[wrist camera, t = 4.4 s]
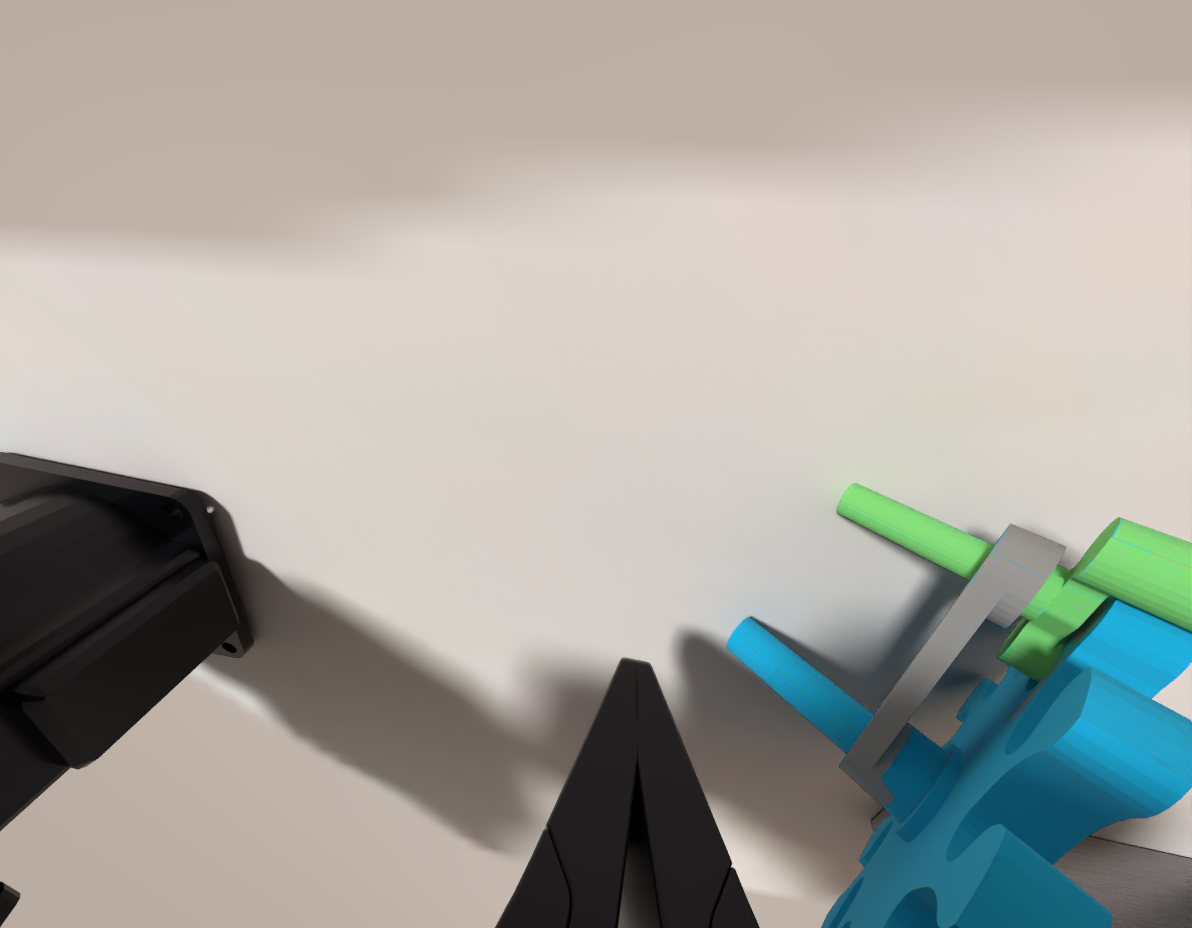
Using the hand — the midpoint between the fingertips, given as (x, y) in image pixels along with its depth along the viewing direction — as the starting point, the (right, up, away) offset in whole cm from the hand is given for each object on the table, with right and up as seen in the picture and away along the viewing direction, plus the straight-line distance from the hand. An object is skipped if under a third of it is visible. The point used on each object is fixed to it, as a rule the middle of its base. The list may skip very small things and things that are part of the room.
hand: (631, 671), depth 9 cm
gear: (+7, 0, +2) cm, 7 cm away
